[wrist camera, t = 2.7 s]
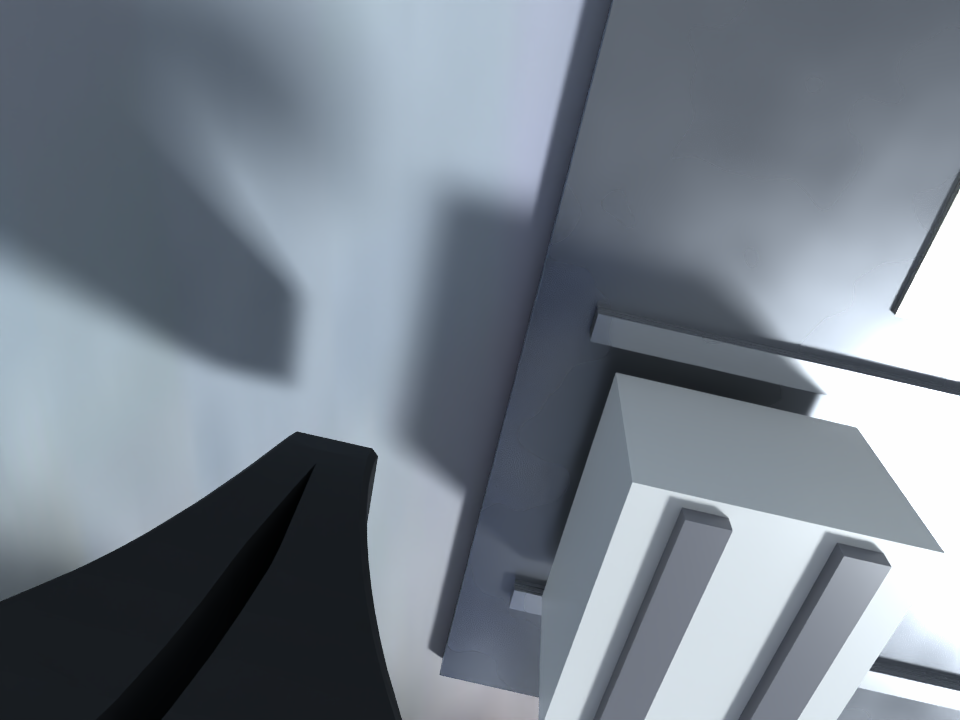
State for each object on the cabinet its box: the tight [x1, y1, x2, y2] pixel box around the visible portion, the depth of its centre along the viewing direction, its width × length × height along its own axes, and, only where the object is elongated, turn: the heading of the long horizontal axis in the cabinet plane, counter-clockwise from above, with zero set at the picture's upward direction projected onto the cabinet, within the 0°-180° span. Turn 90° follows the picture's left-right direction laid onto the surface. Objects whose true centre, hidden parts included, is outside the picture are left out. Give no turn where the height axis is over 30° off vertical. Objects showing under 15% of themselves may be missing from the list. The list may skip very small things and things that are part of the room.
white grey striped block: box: [539, 373, 946, 720], centre depth 11 cm, size 5×4×3 cm
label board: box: [440, 0, 960, 720], centre depth 12 cm, size 16×12×1 cm
